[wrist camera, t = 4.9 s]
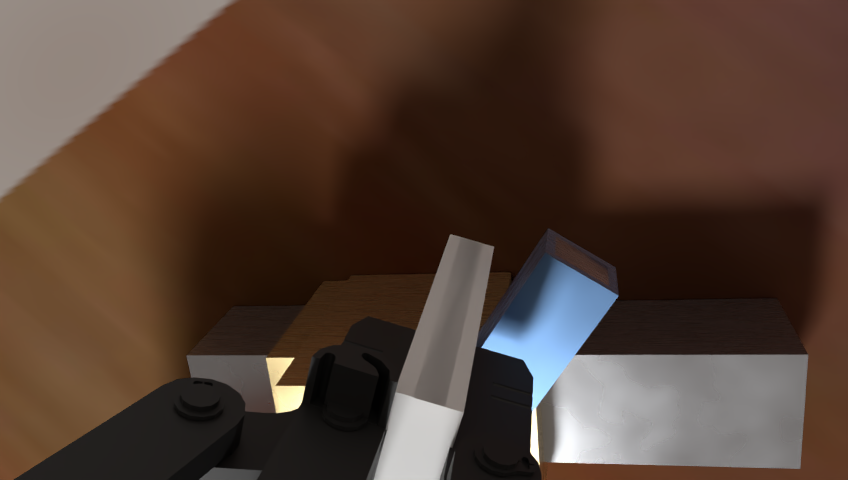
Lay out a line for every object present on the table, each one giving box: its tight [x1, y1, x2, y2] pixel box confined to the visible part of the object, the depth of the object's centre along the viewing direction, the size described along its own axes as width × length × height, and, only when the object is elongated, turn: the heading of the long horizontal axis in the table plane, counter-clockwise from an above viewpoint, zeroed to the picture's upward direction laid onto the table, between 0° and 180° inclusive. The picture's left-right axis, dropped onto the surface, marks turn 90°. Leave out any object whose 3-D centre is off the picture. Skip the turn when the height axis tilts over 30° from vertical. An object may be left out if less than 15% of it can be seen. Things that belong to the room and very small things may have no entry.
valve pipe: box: [186, 272, 808, 480], centre depth 25 cm, size 20×6×11 cm, turn 96°
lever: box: [476, 228, 619, 412], centre depth 18 cm, size 3×12×1 cm, turn 151°
